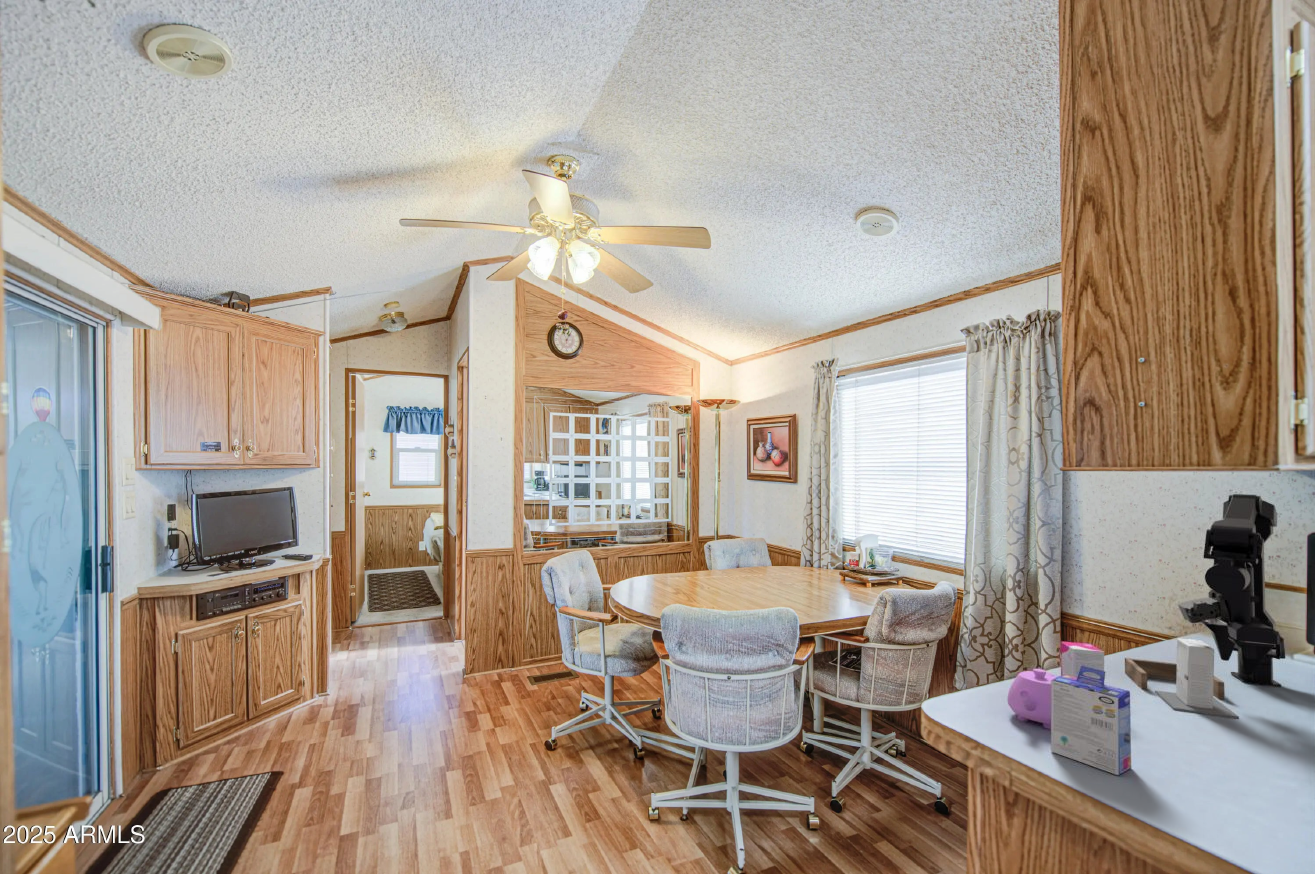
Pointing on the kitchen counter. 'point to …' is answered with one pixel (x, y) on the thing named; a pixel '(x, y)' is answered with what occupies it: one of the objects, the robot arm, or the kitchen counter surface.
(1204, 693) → the skincare box
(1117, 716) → the ink cartridge box
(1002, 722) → the kitchen counter surface
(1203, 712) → the charcoal mat
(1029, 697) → the pink rounded plastic body
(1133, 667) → the walnut u-shaped bracket
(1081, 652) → the supplement box
